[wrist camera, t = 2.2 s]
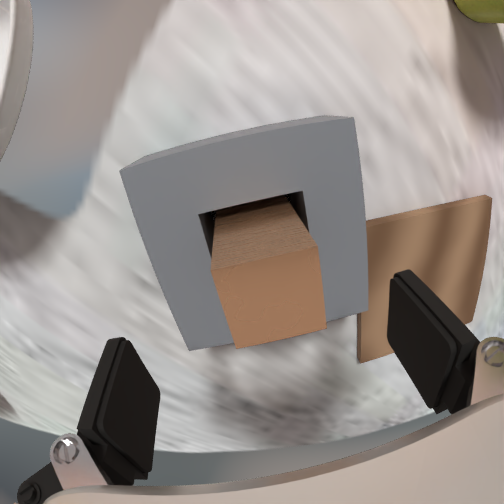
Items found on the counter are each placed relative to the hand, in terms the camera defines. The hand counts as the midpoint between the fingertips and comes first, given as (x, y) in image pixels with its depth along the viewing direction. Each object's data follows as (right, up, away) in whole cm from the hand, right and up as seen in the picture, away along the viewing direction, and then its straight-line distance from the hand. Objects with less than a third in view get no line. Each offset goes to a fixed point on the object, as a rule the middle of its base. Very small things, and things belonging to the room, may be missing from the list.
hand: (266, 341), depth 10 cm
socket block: (0, +5, +11) cm, 12 cm away
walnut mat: (+15, 0, +14) cm, 21 cm away
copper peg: (0, +5, +11) cm, 12 cm away
